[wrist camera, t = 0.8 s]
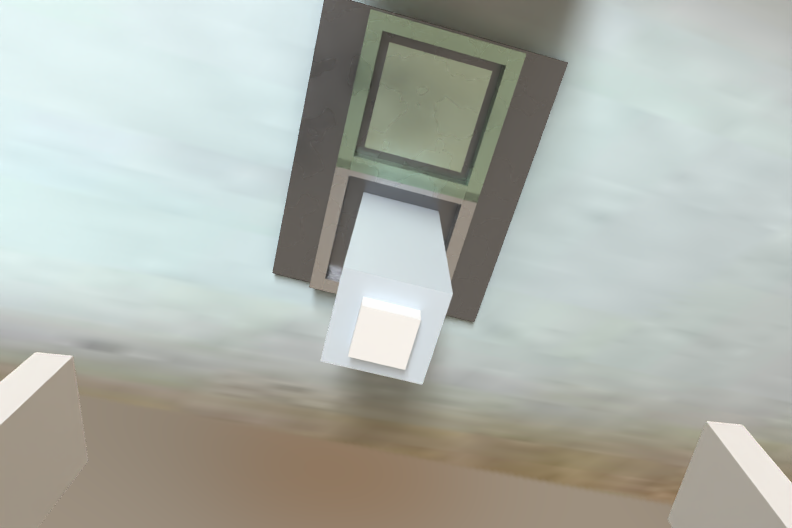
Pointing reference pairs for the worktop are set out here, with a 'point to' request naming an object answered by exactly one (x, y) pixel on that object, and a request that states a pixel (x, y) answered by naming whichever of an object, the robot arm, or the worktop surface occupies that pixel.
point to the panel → (412, 141)
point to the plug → (390, 292)
